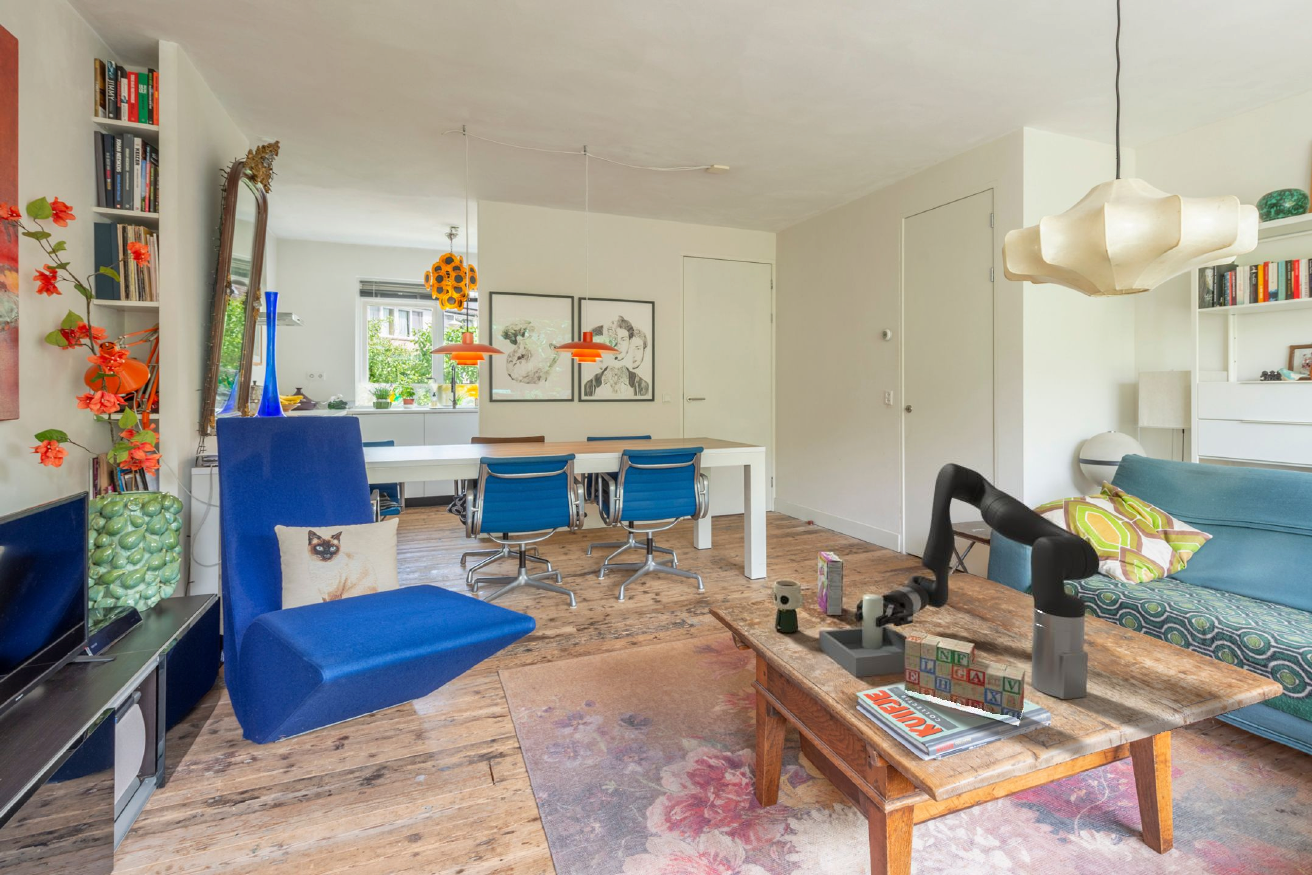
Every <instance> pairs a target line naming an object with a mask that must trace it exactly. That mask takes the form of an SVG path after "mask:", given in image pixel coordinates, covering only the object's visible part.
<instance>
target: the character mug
mask: <svg viewBox="0 0 1312 875" xmlns="http://www.w3.org/2000/svg"><path fill="white" fill-rule="evenodd" d="M801 586H802V585H801V583H800V582H798V581H796V580H791V579H778V580H775V581H774V582H773V585H771V597H773V599H772V600H773V604H774V606H775V607H776V608H777V611H776V614H775V615H776V618H775V622H774V624H775V625H774V628H775V630H779V631H780V632H783V633H792V632H796V631H797V630H799V621H798V613H797V612H798V611H797V609H799V608H800V607H803V606H804V594H802V593H801V591H802V590H801V589H802V588H801Z"/></svg>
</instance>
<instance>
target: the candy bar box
mask: <svg viewBox="0 0 1312 875" xmlns="http://www.w3.org/2000/svg"><path fill="white" fill-rule="evenodd" d="M843 569H844V561H843V560H842V559H841V558H840V557H839V556H838V555H837V554H836V553H835V552H834V551H817V604H818V606H819V605H820V606H819V607H820V608H821V610H822V609H823V610H822V612H823V613H824V614H825V613H826V614H825V615H826V616H827V615H842V616H843V588H844V587H843V586H844V585H843V583H844V582H843V580H844V577H843V576H844V573H843V572H844V570H843Z"/></svg>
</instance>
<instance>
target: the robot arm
mask: <svg viewBox="0 0 1312 875" xmlns="http://www.w3.org/2000/svg"><path fill="white" fill-rule="evenodd" d="M933 491H934V492H933V501H932V509H931V510H932V511H931V520H930V528H929V532H928V536H927V540H926V544H925V548H924V551H923V555H922V558H921V566H923V567H924V568H925V569H927V570H930V572H932V573H933V574H934V576H935V579H933V578H929V577H925V576H922V575H913V576H911V577H910V578H909V579H908V581H907V584H906V585H904V586H903V587H898V588H896V589H893V590H892V591H889V592H886V593H884V594H883V595H881V596H882V597H883V615H882V616H879V617H877V618H876V627H879V628H880V627H881V626H885V625H887V626H890V625H891V624H893V626H894V627H901V626H906V625H910V624H913V623H914V616H915V615H916V614H917V613H918V612H921V611H922V610H924V609H925V608H926V607H927V606H929V607H932V608H934V609H940V608H943V607H944V606H945V605H946V604H947V602H948V600H949V596H950V595H949V573H950V572H949V570H950V566H951V562H952V558H953V554H954V550H955V546H956V545H955V544H956V543H955V541H956V539H955V533H954V529H953V524H952V520H951V504H952V499H954V500H958V501H960V502H963V503H966V504H969V505H971V506H973V507H974V508H976V509H978V510H979V511H980V516H981V518H982V520H983V521H984V523H985V524H986V525H987V526H989V527H990V528H991V529H992V530H993V531H995V532H996V533H997V534H998V535H1001V537H1004V538H1006V539H1008V540H1010V541H1013V542H1016V543H1018V544H1021V545H1023V546H1024V545H1025V546H1027V547H1031V551H1030V577H1031V580H1030V581H1031V583H1030V585H1031V586H1030V588H1031V593H1032V594H1031V595H1032V596H1033V597H1032V598H1033V623H1032V648H1031V651H1032V652H1031V675H1030V677H1031V679H1030V680H1031V682H1030V684H1031V686H1032V687H1033V688H1034V689H1035V690H1037V691H1039V692H1041V693H1043V694H1047V695H1049V696H1053V697H1057V698H1059V699H1061V700H1068V699H1069V700H1070V699H1076V698H1077V699H1078V698H1085V697H1087V685H1088V659H1089V654H1088V652H1087V651H1085V650H1084V648H1085V647H1084V646H1085V645H1084V644H1085V628H1086V627H1085V625H1086V624H1085V622H1086V603H1085V601H1084V600H1083V599H1081V597H1078V596H1075V595H1072V594H1070V593H1067V592H1066V590H1065V581H1079V580H1080V581H1081V580H1087V579H1090V578H1092V577H1093V576H1095V575H1096V573H1097V572H1098V571H1099V568H1100V558H1099V555H1098V553H1097V551H1096V550H1095V548H1094V547H1093V544H1091V543H1090V542H1089V541H1087V540H1086V539H1085V538H1083V537H1081V536H1079V535H1077V534H1076V533H1073V532H1072V531H1069V530H1067V529H1065V528H1063V527H1061V526H1059V525H1057V524H1055V523H1054V522H1052V521H1050V520H1049V519H1047V518H1046V517H1044V516H1042V514H1039V513H1038V512H1036V511H1034V510H1033V509H1031V507H1028V505H1026V504H1024V503H1023V502H1021V501H1019V500H1018V499H1017V498H1016V497H1014V496H1012V495H1010V494H1009V493H1007V492H1005V491H1003V490H1000V489H998V488H996V486H994V485H993V484H992V483H991V482H990V481H989V480H987V478H985V477H984V476H983V475H982V474H981V473H979V472H977V471H976V470H974V469H971V468H968V467H966V466H964V465H963V466H962V465H960V464H957V463H953V462H951V463H950V462H949V463H946V464H945V465H943V466H942V467H941V468H940V470H939V472H938V473H937V477H936V479H935V485H934V490H933ZM854 619H855V621H856V622H858V623H860V622H862V620H863V599H860V601H858V603H857V604H856V611H855V614H854Z"/></svg>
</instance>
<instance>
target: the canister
mask: <svg viewBox="0 0 1312 875" xmlns="http://www.w3.org/2000/svg"><path fill="white" fill-rule="evenodd" d="M862 600H863V620H862V621H861V622H862V626H861V627H862V646H863V647H865V648H867V649H872V650H878V649H881V648H882V629H883V626H881V627H880V628H879V627H876V618H877V617H879V616H882V615H883V597H882V595H878V594H872V593H870V594H869V593H868V594H863V595H862Z"/></svg>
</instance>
